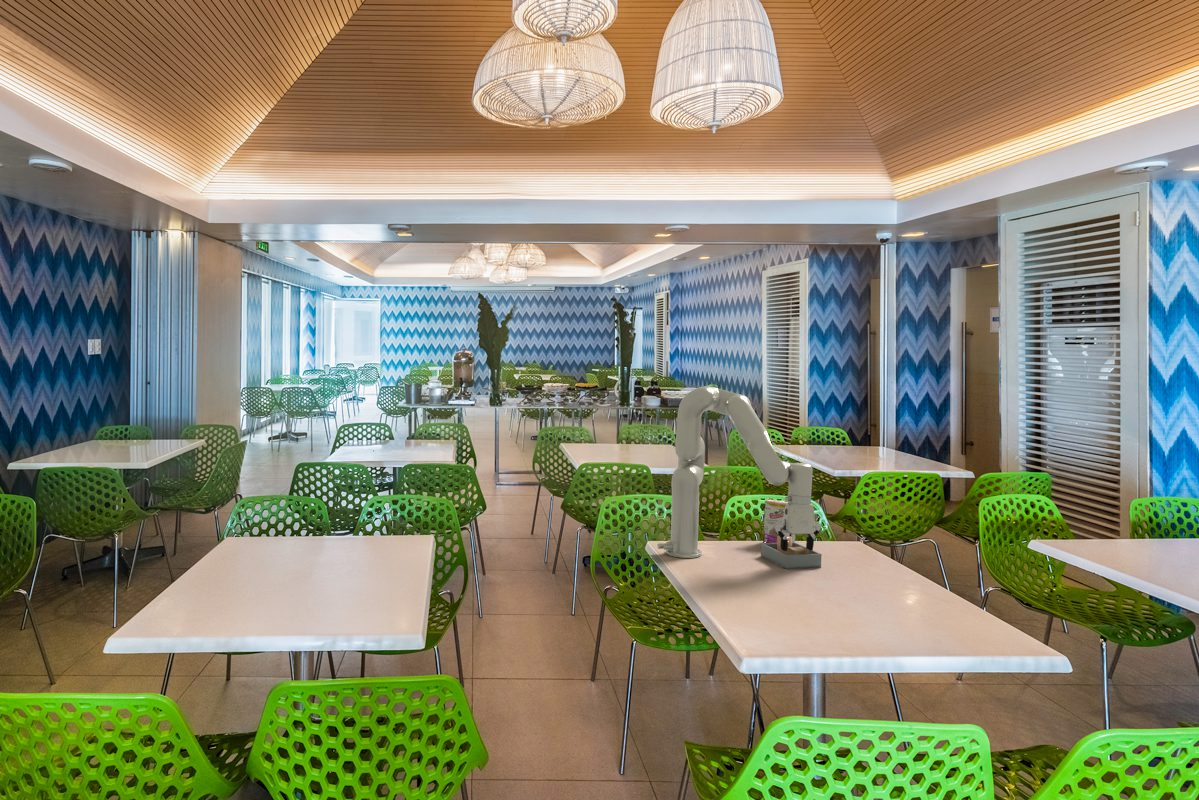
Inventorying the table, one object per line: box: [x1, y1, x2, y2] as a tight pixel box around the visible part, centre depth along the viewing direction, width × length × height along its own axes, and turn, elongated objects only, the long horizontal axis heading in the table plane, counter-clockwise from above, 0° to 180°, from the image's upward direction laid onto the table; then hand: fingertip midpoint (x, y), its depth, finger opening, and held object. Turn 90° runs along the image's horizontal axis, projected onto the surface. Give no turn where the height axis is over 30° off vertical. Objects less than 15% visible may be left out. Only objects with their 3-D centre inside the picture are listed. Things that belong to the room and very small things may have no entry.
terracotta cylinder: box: [777, 536, 792, 555], centre depth 265 cm, size 5×5×7 cm
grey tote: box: [760, 541, 822, 570], centre depth 261 cm, size 13×17×4 cm
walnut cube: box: [787, 547, 808, 555], centre depth 256 cm, size 5×5×5 cm
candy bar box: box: [762, 499, 796, 543], centre depth 286 cm, size 11×5×16 cm, turn 58°
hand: (796, 549), depth 256 cm, fingers open, 9 cm apart
